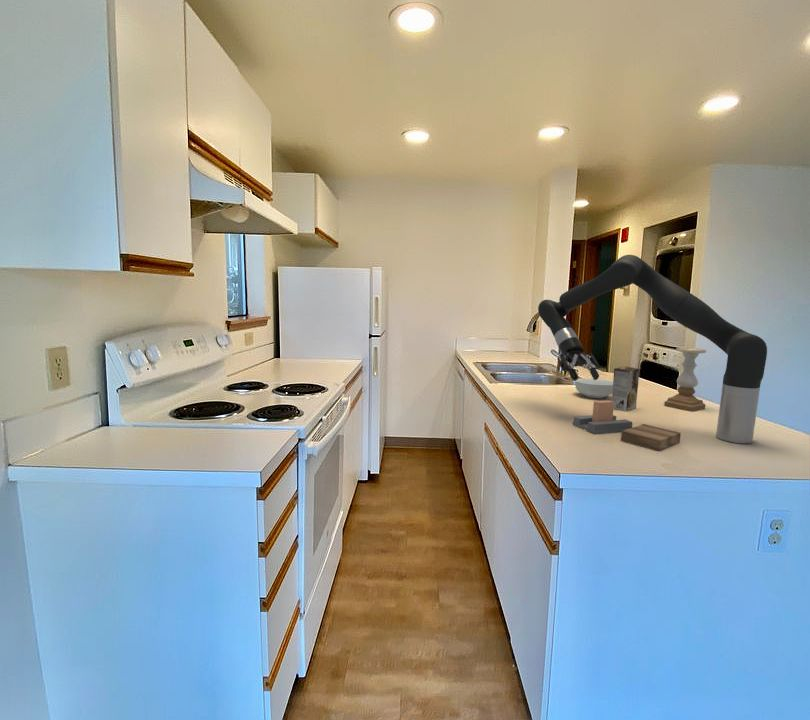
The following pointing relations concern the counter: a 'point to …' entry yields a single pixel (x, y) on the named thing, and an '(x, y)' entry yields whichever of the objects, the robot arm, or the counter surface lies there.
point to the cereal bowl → (594, 387)
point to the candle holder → (687, 383)
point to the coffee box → (625, 388)
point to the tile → (602, 411)
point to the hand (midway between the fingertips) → (586, 379)
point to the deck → (651, 437)
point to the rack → (601, 425)
